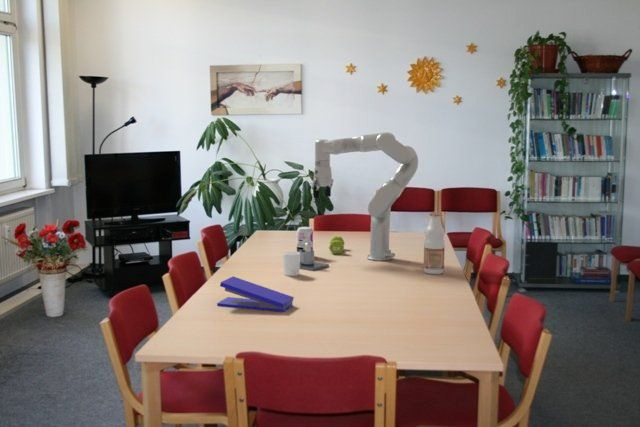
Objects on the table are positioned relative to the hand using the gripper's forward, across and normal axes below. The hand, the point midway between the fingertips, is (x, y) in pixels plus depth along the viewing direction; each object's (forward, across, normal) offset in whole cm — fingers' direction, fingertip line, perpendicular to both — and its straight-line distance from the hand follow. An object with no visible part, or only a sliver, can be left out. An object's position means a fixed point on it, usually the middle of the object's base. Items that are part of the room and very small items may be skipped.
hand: (322, 197), depth 378 cm
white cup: (+31, -44, -17) cm, 56 cm away
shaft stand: (+30, -26, -12) cm, 42 cm away
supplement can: (+31, -9, +4) cm, 32 cm away
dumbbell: (+31, +12, 0) cm, 33 cm away
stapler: (+31, -93, -41) cm, 106 cm away
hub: (+28, -26, -11) cm, 39 cm away
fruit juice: (+31, +2, -65) cm, 72 cm away
